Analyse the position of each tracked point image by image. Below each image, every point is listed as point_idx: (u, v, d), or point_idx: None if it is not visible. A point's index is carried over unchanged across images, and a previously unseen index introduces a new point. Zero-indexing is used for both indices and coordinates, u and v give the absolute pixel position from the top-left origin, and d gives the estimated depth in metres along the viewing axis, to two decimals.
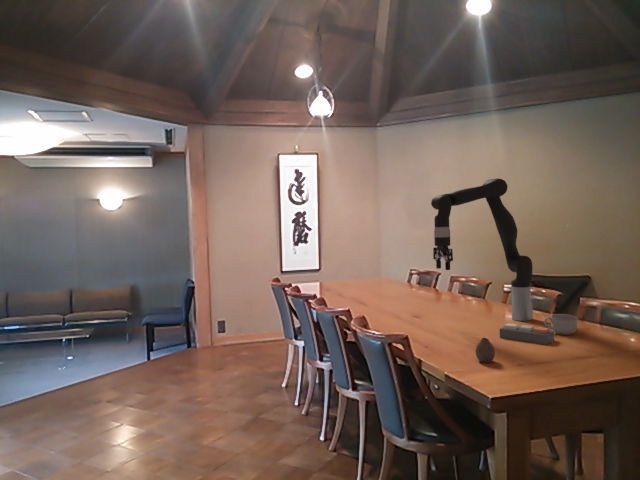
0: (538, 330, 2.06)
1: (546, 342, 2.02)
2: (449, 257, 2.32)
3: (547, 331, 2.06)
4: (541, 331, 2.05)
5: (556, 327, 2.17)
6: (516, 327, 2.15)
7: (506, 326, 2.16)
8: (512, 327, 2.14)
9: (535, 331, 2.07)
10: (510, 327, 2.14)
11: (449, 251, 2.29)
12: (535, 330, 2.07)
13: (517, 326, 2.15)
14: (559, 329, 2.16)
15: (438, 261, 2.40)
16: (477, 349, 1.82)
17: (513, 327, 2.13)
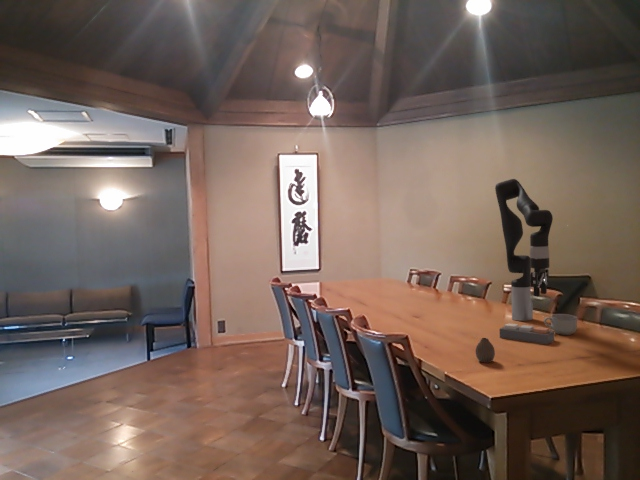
0: (538, 330, 2.06)
1: (546, 342, 2.02)
2: None
3: (547, 331, 2.06)
4: (541, 331, 2.05)
5: (556, 327, 2.17)
6: (516, 327, 2.15)
7: (506, 326, 2.16)
8: (512, 327, 2.14)
9: (535, 331, 2.07)
10: (510, 327, 2.14)
11: None
12: (535, 330, 2.07)
13: (517, 326, 2.15)
14: (559, 329, 2.16)
15: None
16: (477, 349, 1.82)
17: (513, 327, 2.13)
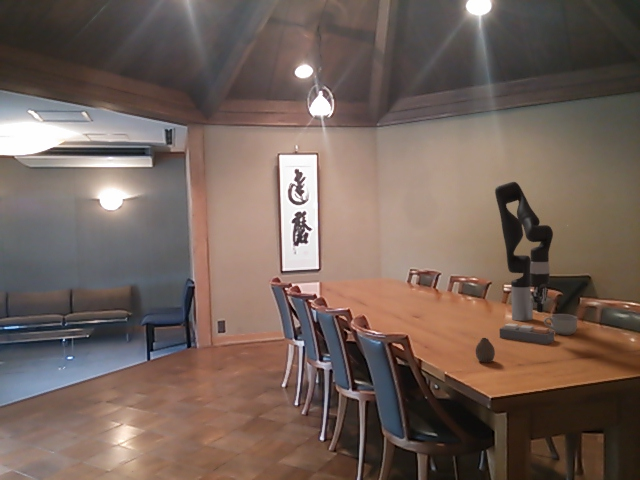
0: (538, 330, 2.06)
1: (546, 342, 2.02)
2: None
3: (547, 331, 2.06)
4: (541, 331, 2.05)
5: (556, 327, 2.17)
6: (516, 327, 2.15)
7: (506, 326, 2.16)
8: (512, 327, 2.14)
9: (535, 331, 2.07)
10: (510, 327, 2.14)
11: None
12: (535, 330, 2.07)
13: (517, 326, 2.15)
14: (559, 329, 2.16)
15: None
16: (477, 349, 1.82)
17: (513, 327, 2.13)
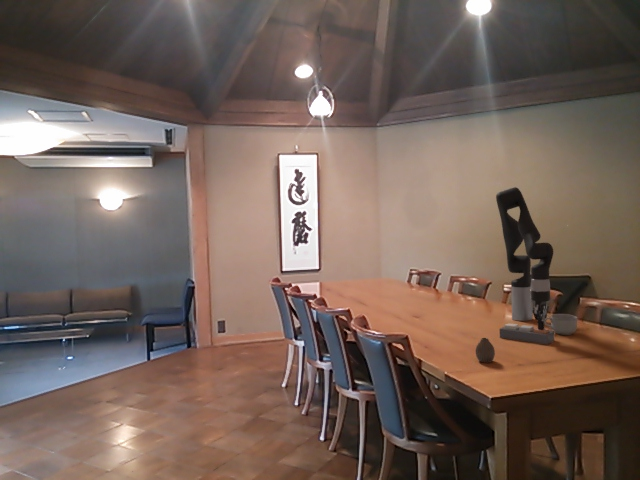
0: (538, 331, 2.06)
1: (546, 342, 2.02)
2: None
3: (547, 332, 2.06)
4: (541, 332, 2.05)
5: (556, 327, 2.17)
6: (516, 327, 2.15)
7: (506, 326, 2.16)
8: (512, 327, 2.14)
9: (535, 332, 2.07)
10: (510, 327, 2.14)
11: None
12: (535, 331, 2.07)
13: (517, 326, 2.15)
14: (559, 329, 2.16)
15: None
16: (477, 349, 1.82)
17: (513, 327, 2.13)
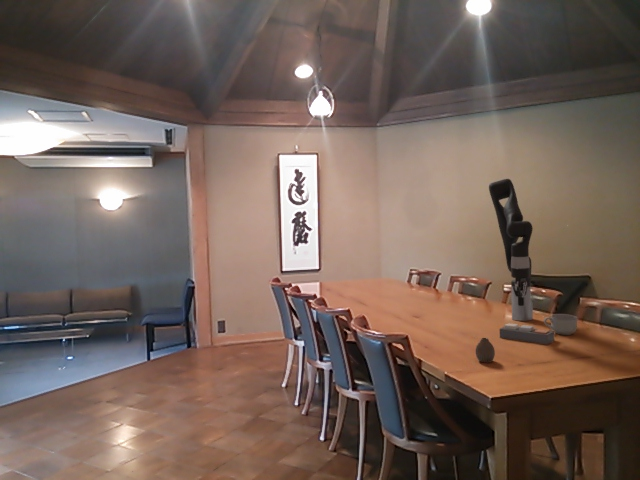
0: (538, 332, 2.06)
1: (546, 342, 2.02)
2: None
3: None
4: (541, 333, 2.05)
5: (556, 327, 2.17)
6: (516, 327, 2.15)
7: (506, 326, 2.16)
8: (512, 327, 2.14)
9: None
10: (510, 327, 2.14)
11: None
12: (535, 332, 2.07)
13: (517, 326, 2.15)
14: (559, 329, 2.16)
15: None
16: (477, 349, 1.82)
17: (513, 327, 2.13)
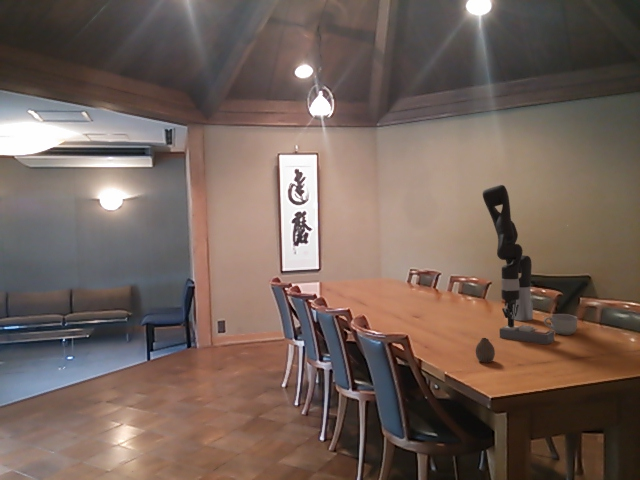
0: (538, 332, 2.06)
1: (546, 342, 2.02)
2: None
3: None
4: (541, 333, 2.05)
5: (556, 327, 2.17)
6: None
7: (506, 328, 2.16)
8: (512, 329, 2.14)
9: None
10: None
11: None
12: (535, 332, 2.07)
13: (517, 328, 2.15)
14: (559, 329, 2.16)
15: None
16: (477, 349, 1.82)
17: (513, 329, 2.13)
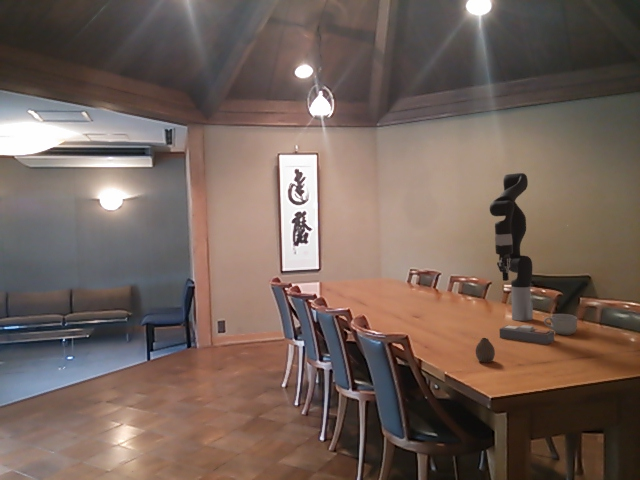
0: (538, 332, 2.06)
1: (546, 342, 2.02)
2: None
3: None
4: (541, 333, 2.05)
5: (556, 327, 2.17)
6: None
7: (506, 328, 2.16)
8: (512, 329, 2.14)
9: None
10: None
11: None
12: (535, 332, 2.07)
13: (517, 328, 2.15)
14: (559, 329, 2.16)
15: None
16: (477, 349, 1.82)
17: (513, 329, 2.13)
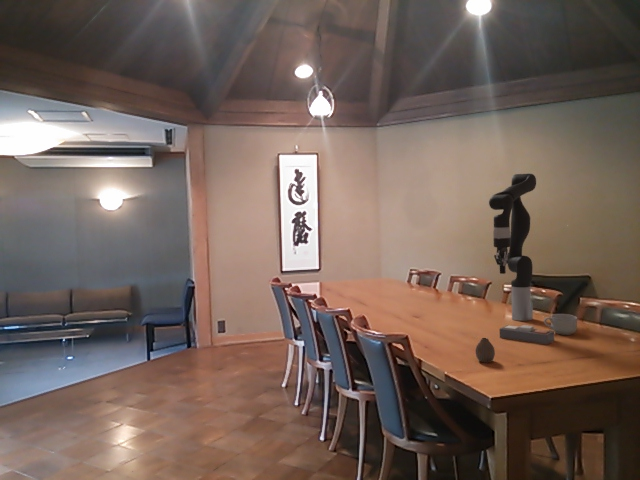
0: (538, 332, 2.06)
1: (546, 342, 2.02)
2: None
3: None
4: (541, 333, 2.05)
5: (556, 327, 2.17)
6: None
7: (506, 328, 2.16)
8: (512, 329, 2.14)
9: None
10: None
11: None
12: (535, 332, 2.07)
13: (517, 328, 2.15)
14: (559, 329, 2.16)
15: None
16: (477, 349, 1.82)
17: (513, 329, 2.13)
